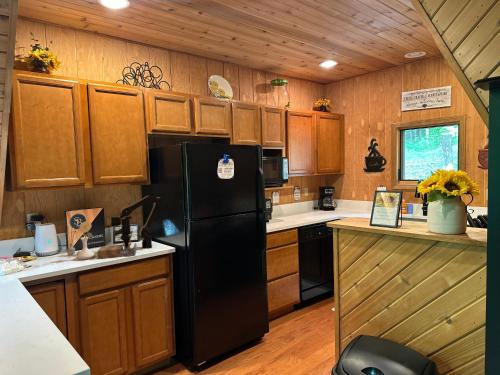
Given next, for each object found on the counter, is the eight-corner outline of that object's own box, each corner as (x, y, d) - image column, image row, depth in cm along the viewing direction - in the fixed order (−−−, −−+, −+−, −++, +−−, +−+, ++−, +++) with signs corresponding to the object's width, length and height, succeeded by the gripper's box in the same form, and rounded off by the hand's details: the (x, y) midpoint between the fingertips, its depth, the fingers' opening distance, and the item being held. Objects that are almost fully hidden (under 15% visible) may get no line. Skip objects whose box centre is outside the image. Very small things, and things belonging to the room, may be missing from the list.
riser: (130, 249, 251) (130, 244, 251) (129, 250, 247) (129, 245, 247) (124, 249, 250) (124, 244, 250) (123, 250, 246) (123, 246, 246)
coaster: (131, 244, 252) (131, 241, 252) (130, 245, 246) (130, 243, 246) (123, 244, 251) (122, 241, 251) (122, 246, 245) (121, 243, 245)
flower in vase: (72, 259, 226) (70, 221, 224) (87, 255, 236) (85, 219, 234) (85, 261, 219) (83, 222, 218) (100, 257, 229) (98, 220, 228)
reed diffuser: (63, 256, 235) (61, 227, 233) (65, 254, 241) (64, 225, 240) (79, 255, 237) (78, 226, 236) (81, 252, 244) (80, 224, 243)
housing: (123, 252, 242) (122, 244, 242) (120, 256, 229) (120, 249, 229) (102, 253, 239) (101, 246, 239) (98, 258, 226) (97, 250, 225)
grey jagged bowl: (136, 250, 245) (136, 243, 244) (135, 255, 231) (134, 247, 231) (116, 252, 241) (116, 244, 241) (113, 257, 228) (113, 248, 227)
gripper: (115, 224, 255) (117, 244, 256) (112, 228, 237) (113, 250, 238) (131, 223, 257) (132, 243, 258) (129, 226, 239) (130, 249, 240)
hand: (127, 246), depth 249 cm, fingers closed on coaster, 6 cm apart
